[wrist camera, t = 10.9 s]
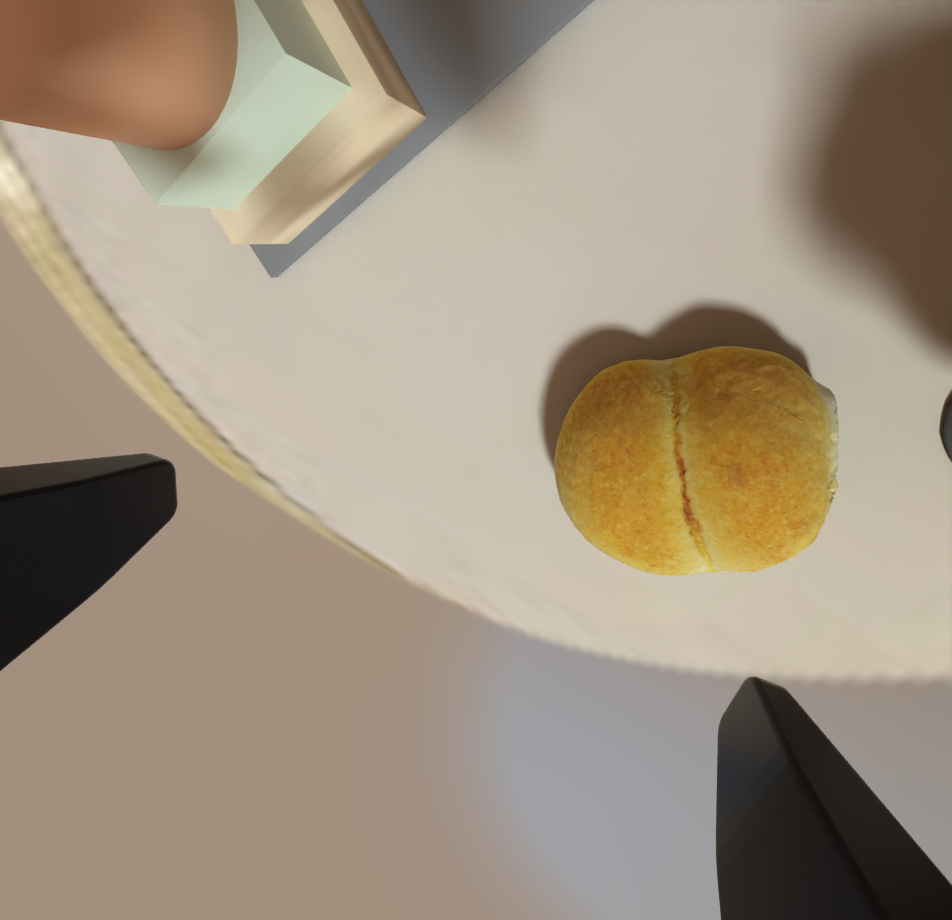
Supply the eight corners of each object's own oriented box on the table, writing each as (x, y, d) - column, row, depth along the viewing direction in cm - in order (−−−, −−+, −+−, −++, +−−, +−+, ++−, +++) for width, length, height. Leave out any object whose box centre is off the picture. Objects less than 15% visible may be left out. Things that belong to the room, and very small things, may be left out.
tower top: (231, -120, 13) (128, -210, 11) (352, 88, 14) (286, 53, 12) (123, 42, 16) (17, 1, 13) (233, 209, 17) (155, 204, 14)
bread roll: (543, 370, 19) (520, 399, 16) (820, 322, 16) (868, 345, 13) (579, 559, 22) (566, 619, 18) (823, 549, 19) (864, 620, 15)
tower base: (302, -107, 15) (231, -179, 13) (427, 117, 17) (386, 94, 14) (173, 65, 18) (95, 36, 16) (287, 243, 20) (232, 244, 17)
